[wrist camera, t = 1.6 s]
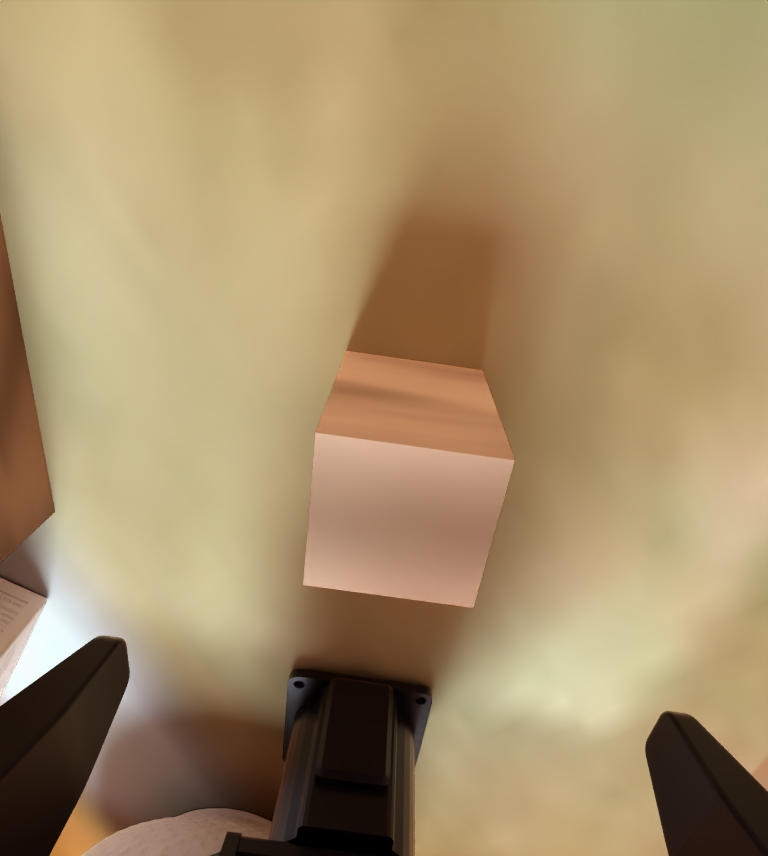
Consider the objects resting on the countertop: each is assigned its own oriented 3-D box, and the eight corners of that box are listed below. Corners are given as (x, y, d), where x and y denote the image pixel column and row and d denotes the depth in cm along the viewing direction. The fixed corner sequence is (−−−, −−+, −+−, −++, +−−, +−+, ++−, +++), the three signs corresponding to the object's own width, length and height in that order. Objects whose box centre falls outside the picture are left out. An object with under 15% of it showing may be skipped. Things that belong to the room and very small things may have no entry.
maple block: (455, 484, 19) (473, 607, 14) (334, 468, 19) (303, 585, 14) (482, 369, 17) (514, 460, 12) (346, 350, 17) (315, 432, 12)
